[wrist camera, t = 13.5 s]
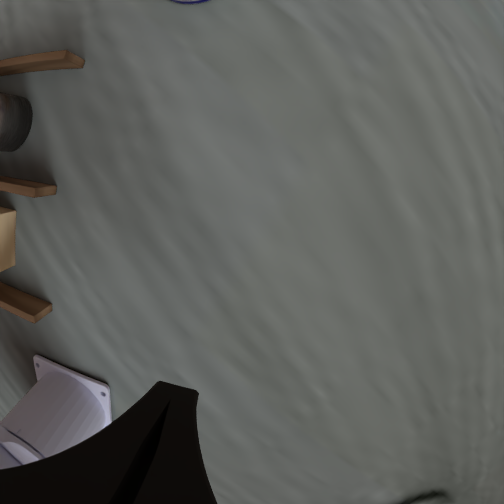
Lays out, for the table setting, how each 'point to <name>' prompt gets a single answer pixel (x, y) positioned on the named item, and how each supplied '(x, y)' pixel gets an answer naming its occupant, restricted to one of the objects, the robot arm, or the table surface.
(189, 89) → the table surface
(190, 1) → the energy drink
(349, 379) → the table surface
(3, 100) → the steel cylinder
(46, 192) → the rack
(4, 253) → the maple block
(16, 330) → the table surface
